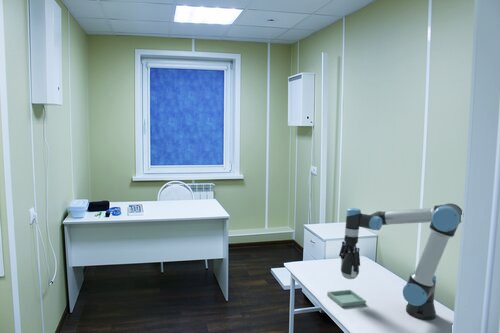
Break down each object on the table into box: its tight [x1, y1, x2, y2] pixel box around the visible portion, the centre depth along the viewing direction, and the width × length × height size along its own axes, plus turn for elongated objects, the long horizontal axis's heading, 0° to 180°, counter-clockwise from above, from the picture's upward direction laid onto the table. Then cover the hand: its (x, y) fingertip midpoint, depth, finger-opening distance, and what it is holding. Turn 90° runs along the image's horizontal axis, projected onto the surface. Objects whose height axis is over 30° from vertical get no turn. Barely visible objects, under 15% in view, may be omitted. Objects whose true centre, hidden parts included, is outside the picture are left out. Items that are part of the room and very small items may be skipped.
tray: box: [326, 289, 367, 308], centre depth 232 cm, size 16×16×2 cm
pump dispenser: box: [340, 251, 360, 280], centre depth 231 cm, size 10×10×15 cm
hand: (348, 273), depth 231 cm, fingers closed on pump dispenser, 10 cm apart
